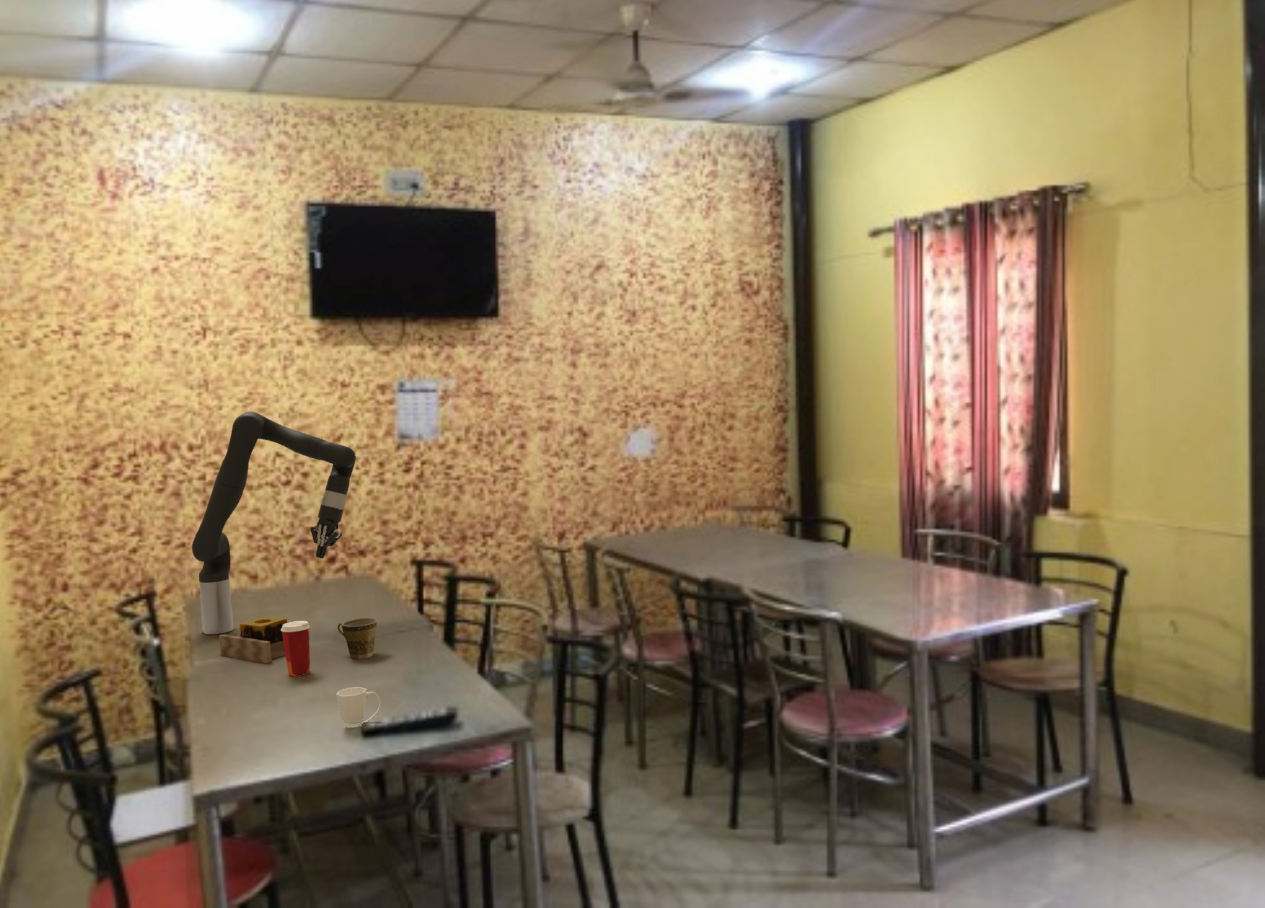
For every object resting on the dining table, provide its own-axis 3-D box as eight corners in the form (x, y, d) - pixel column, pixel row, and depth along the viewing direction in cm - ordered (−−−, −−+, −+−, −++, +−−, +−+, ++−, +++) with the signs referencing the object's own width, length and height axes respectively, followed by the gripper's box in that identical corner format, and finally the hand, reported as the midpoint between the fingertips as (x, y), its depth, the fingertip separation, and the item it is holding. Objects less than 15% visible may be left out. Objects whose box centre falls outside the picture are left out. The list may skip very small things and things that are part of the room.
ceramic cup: (386, 652, 304) (383, 618, 303) (364, 661, 295) (361, 627, 294) (351, 649, 310) (348, 616, 309) (328, 658, 301) (325, 624, 300)
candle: (265, 659, 304) (262, 626, 303) (240, 657, 308) (237, 624, 308) (290, 650, 313) (288, 618, 312) (266, 648, 317) (263, 616, 317)
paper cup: (319, 670, 289) (315, 620, 288) (302, 678, 282) (298, 627, 281) (295, 668, 291) (291, 619, 290) (278, 676, 284) (274, 626, 283)
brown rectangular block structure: (220, 655, 311) (219, 635, 311) (245, 648, 318) (243, 629, 318) (267, 663, 299) (265, 642, 299) (291, 655, 306) (289, 635, 306)
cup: (335, 724, 241) (332, 690, 241) (378, 715, 246) (375, 682, 245) (342, 732, 235) (339, 698, 234) (385, 723, 240) (383, 689, 239)
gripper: (310, 501, 341) (296, 553, 339) (338, 506, 334) (324, 559, 332) (326, 505, 347) (314, 556, 345) (354, 511, 340) (342, 562, 338)
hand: (319, 557), depth 338 cm, fingers closed
